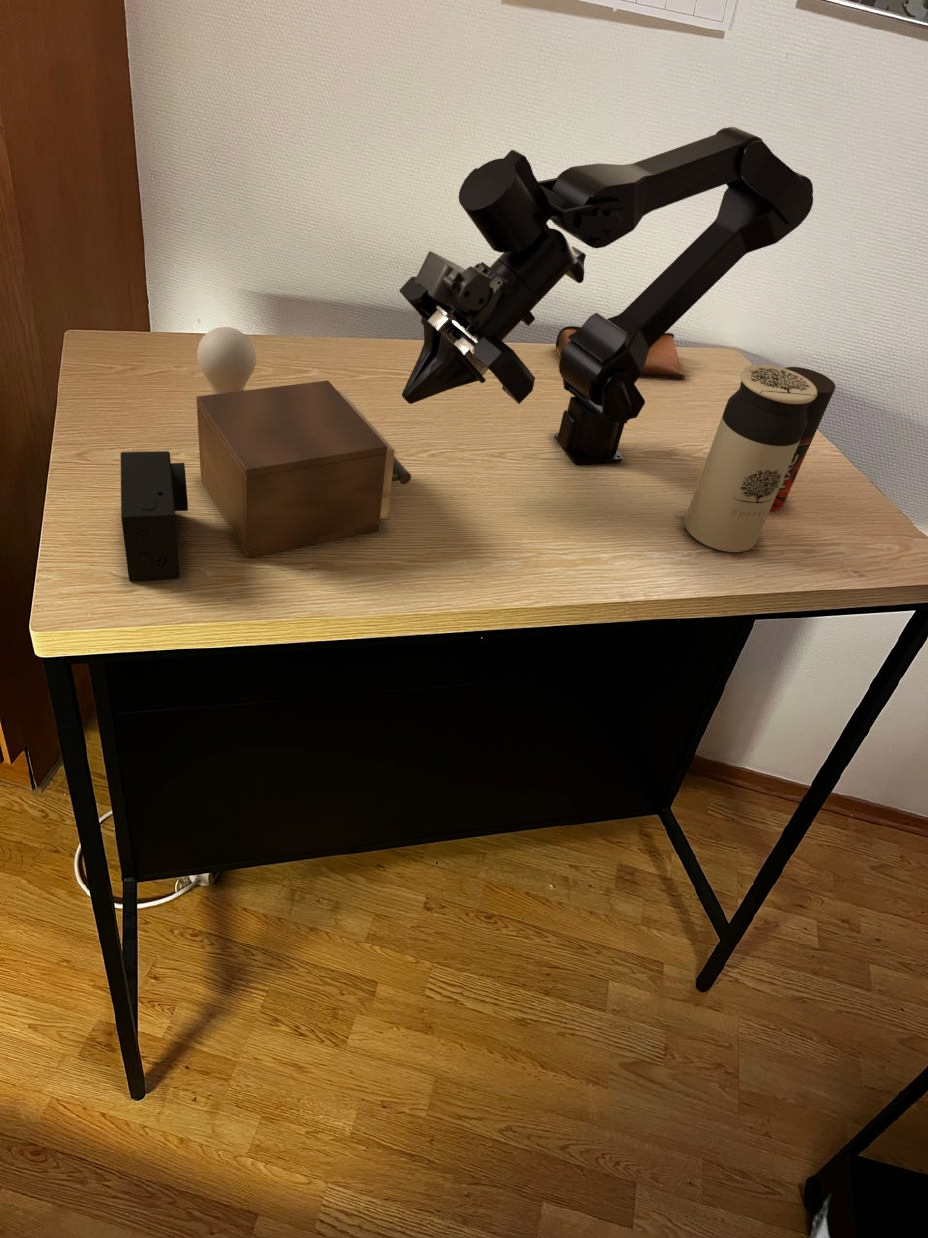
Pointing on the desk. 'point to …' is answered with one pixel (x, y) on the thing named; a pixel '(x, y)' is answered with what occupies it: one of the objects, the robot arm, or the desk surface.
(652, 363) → the sunglasses case
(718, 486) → the travel mug
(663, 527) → the desk surface
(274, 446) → the cabinet
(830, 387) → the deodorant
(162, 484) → the digital camera
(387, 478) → the drawer
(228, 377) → the lightbulb
